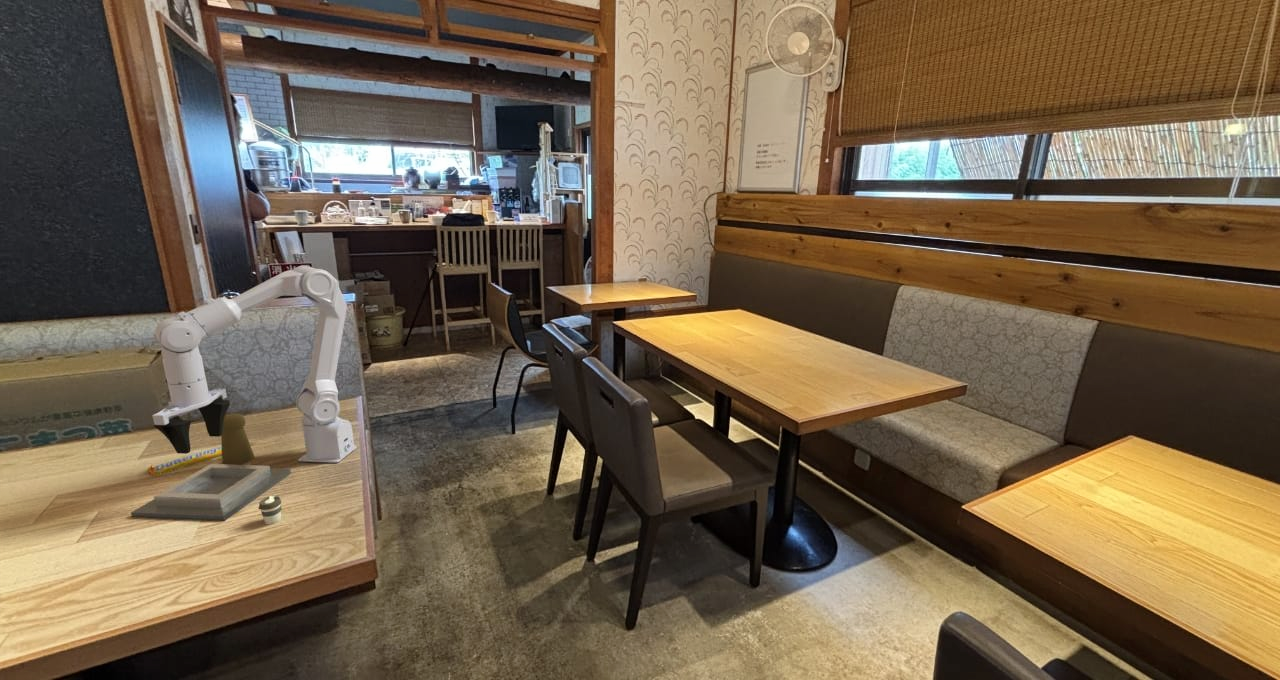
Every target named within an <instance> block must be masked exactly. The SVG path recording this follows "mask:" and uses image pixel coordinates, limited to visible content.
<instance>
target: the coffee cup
mask: <svg viewBox="0 0 1280 680" xmlns="http://www.w3.org/2000/svg"><path fill="white" fill-rule="evenodd" d="M258 509H259V510H260V513H261V515H262V518H263V520H264V523H265V525H268V526H270V525H274V524H277V523H279V522H280V521H281V520H282V499H281V498H280V496H278V495H276V494H275V495H273V496H271V495H269V496H267V497H265V498H263V499H261V500H260V501H259V506H258Z"/></svg>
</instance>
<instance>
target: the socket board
mask: <svg viewBox="0 0 1280 680" xmlns="http://www.w3.org/2000/svg"><path fill="white" fill-rule="evenodd" d="M291 473H292V472H291V468H272V467H270V465H257V464H256V465H252V464H251V465H250V464H241V465H229V464H222V463H221V464H220V463H210V464H208V465H206V466H204V467H203V468H201V469H199V470H198V471H196V472H194V473H192V474H191V475H188V476H187V477H184V479H182V480H180V481H178V482H177V483H175V484H173V485H171V486H170V487H168V488H166V489H164V490H162V491H160V492H159V493H157V494H155V495H154V496H153V498H154V499H152V500H150V501H148V502H146V503H145V504H143V505H141V506H140V507H138V508H137V509H134V510H133V511H131V512H130V515H131V518H143V519H144V518H145V519H162V520H163V519H164V520H165V519H167V520H169V519H170V520H192V521H214V522H218V521H220V522H222V521H223V522H225V521H227V520H228V519H229V518H231V517H232V516H233V515H235V514H237V513H238V512H240V510H241V511H242V509H243V508H245V507H246V506H247V505H249V504H251V503H252V502H253V501H254V500H256V499H257V498H259V497H260V496H261V495H263V494H264V493H266V492H267V491H268V490H270V489H271V488H272V487H274V486H276V485H277V484H278V483H280V482H281V481H282V480H284V479H285V478H287V477H288V476H290V475H291Z"/></svg>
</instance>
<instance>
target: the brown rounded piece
mask: <svg viewBox="0 0 1280 680" xmlns="http://www.w3.org/2000/svg"><path fill="white" fill-rule="evenodd" d="M245 426H246V418H245V416H244V415H243V414H241V413H229V414H225V417H224V422H223V428H222V435H221V436H220V439H221V441H220V442H221V447H222V456H221V464H229V465H245V464H246V463H249V462H250V461H253V460H254V458H255V455H254V451H253V449H252V446H251V443H250V441H249V439H248V435H247V433H246V431H245V428H244V427H245Z"/></svg>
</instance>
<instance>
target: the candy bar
mask: <svg viewBox="0 0 1280 680" xmlns="http://www.w3.org/2000/svg"><path fill="white" fill-rule="evenodd" d="M217 458H222V446H220V447H216V448H215V447H214V448H212V449H209V450H205V451H200V452H198V453H194V454H191V455H188V456H184V457H181V458H177V459H173V460H171V461H167V462H164V463H161V464H158V465H155V466H153V465H152V464H151V465H150V466H149V467H148V469H146V471H147V472H148V473H150V474H151V475H153V476H158V475H161V474H160V473H162V474H164V472H165V473H169V472H172V471H176V470H179V469H183V468H186V467H189V466H194V465H197V464H199V463H203V462H207V461H211V460H213V459H217ZM182 467H183V468H182ZM178 468H179V469H178ZM175 469H176V470H175ZM171 470H172V471H171ZM168 471H169V472H168ZM157 474H158V475H157Z"/></svg>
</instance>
